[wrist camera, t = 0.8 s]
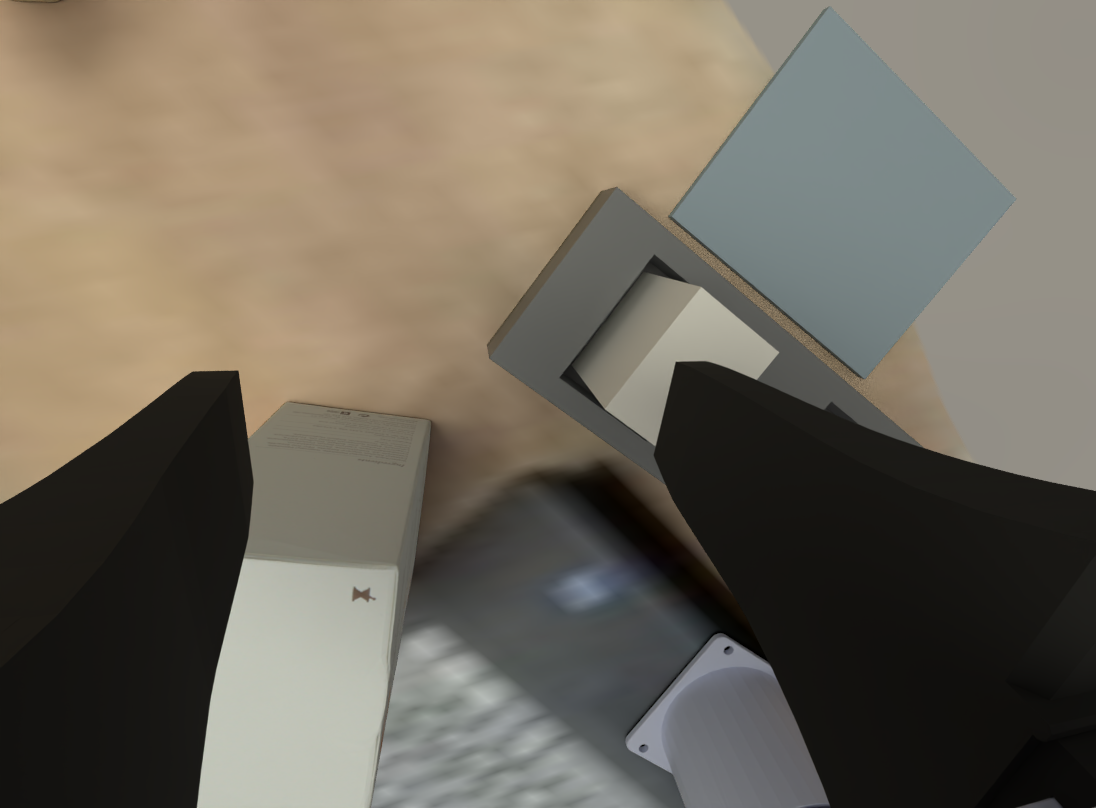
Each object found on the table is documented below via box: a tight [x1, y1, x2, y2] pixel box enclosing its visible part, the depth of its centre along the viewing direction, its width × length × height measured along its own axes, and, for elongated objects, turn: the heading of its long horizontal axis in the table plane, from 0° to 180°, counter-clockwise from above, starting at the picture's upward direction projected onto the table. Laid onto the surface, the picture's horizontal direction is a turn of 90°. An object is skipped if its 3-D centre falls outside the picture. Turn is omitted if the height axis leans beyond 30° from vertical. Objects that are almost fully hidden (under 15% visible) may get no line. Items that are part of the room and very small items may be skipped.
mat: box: [668, 6, 1016, 379], centre depth 28 cm, size 12×10×1 cm
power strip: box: [487, 187, 923, 485], centre depth 28 cm, size 20×8×4 cm, turn 52°
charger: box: [572, 272, 779, 446], centre depth 24 cm, size 4×5×8 cm
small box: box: [197, 402, 431, 808], centre depth 23 cm, size 8×6×13 cm
